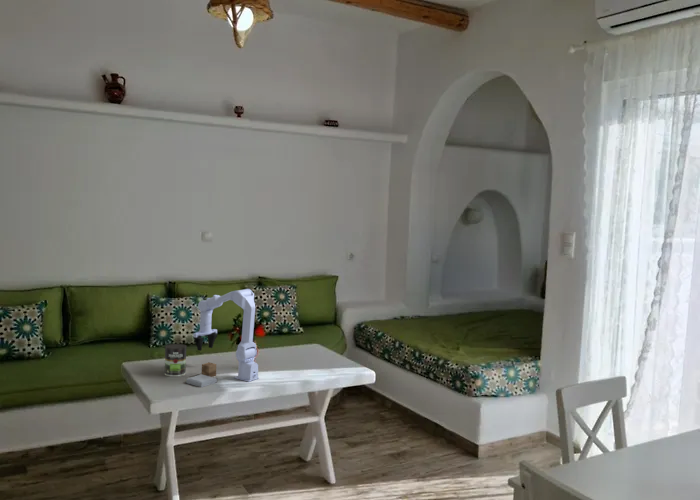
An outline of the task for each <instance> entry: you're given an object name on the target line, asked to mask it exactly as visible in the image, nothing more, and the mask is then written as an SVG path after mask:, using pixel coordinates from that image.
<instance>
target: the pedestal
mask: <svg viewBox="0 0 700 500" xmlns="http://www.w3.org/2000/svg"><path fill="white" fill-rule="evenodd" d="M217 381H218V379H217V377H215V376H214V377H210V376H206V375H203V374H202V373H201V374H198V375H195V376H192V377H188V378H186V380H185V383H186V384H188V385H193V386H195V387H200V388H203V387H207V386H209V385H213V384H215V383H217Z"/></svg>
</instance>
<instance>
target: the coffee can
mask: <svg viewBox="0 0 700 500" xmlns="http://www.w3.org/2000/svg"><path fill="white" fill-rule="evenodd" d="M187 347H188V346H187V345H186V344H183V343H169V344H166V345H165V346H164V349H165V351H164V376H166V377H172V378H173V377H175V378H176V377H177V378H178V377H182V376H183V377H184V376H185V375H186V368H187V367H186V366H187Z"/></svg>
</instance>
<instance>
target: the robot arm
mask: <svg viewBox="0 0 700 500" xmlns="http://www.w3.org/2000/svg"><path fill="white" fill-rule="evenodd" d="M228 301H231V302H233V303H234V304H236V305H237V306H238V307H240V308H241V309H242V310H243V314H242V315H243V316H242V329H241V341H240V342H239V344H238V345H237V348H236V351H235V357H236V360H237V361H238V367H237V368H238V370H237V371H238V372H237V373H238V374H237V376H234V377H233V378H234V379H237V380H241V381H243V382H244V381H245V382H251V381H255V380H257V379H260V377H259V364H258V363H257V362H255V361H254V360H255V358H256V357H257V354H258V350H257V345H256V343H255V342H254V330H255V329H254V328H255V316H256V303H255V293H254V292H253V291H252V290H251V288H244V289H239V290H237V289H236V290H233V291H230V292H227V293H225V294H222V295H219V294H214V295H212V297H207V298H206V299H204V300H200V301H199V302H198V304H197V307H198V310H199V312H200V313H199V314H200V317H199V318H200V319H199V330H198V331H196V332H195V333H194V332H193V334H192V335H193V340H194V343H195V345H196V349H197V351H202V349H203V341H204V337H203V336H207V340H208V341H207V342H208V345H207V346H208V348H210V349H212V348H213V347H214V343H215V341H216V339H217V337H218V329H216V328H213V329H212V318H213V317H212V314H213V311H214V309H217V308H219V307H221V306H223V304H224V303H225V302H228Z"/></svg>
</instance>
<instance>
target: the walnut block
mask: <svg viewBox="0 0 700 500" xmlns="http://www.w3.org/2000/svg"><path fill="white" fill-rule="evenodd" d="M201 374H203V375H206V376H210V377H214V378H215V377H216V376H217V363H213V362H206V363H203V364H201Z"/></svg>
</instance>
